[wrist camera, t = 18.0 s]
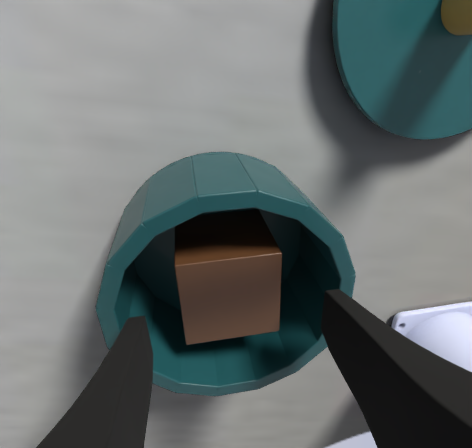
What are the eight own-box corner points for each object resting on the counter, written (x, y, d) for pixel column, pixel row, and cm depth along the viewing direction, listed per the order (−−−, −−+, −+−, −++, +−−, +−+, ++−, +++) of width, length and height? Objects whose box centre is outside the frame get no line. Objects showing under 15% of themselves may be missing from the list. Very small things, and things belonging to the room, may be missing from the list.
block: (258, 276, 19) (279, 331, 15) (184, 285, 19) (185, 345, 15) (258, 208, 17) (282, 252, 13) (174, 217, 17) (174, 265, 13)
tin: (303, 304, 21) (339, 375, 17) (138, 328, 20) (126, 412, 15) (316, 143, 16) (372, 179, 12) (98, 160, 15) (63, 208, 10)
